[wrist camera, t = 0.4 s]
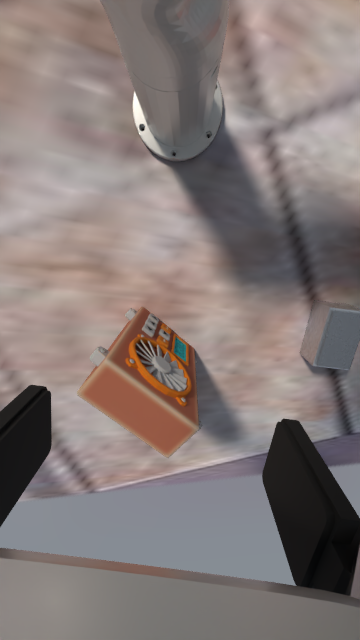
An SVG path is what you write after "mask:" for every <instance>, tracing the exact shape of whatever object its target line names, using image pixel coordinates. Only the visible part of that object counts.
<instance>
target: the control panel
mask: <svg viewBox="0 0 360 640" xmlns="http://www.w3.org/2000/svg"><path fill="white" fill-rule="evenodd" d="M125 316H126V317H127V318H128V319H129V320H130V321H129V322H128V323H127V325H126V326H125V327H124V328H123V330H122V331H121V332H120V334H119V335H118V337H117V338H116V339H115V341H114V342H113V343H112V345H111V346H110V348H109V349H108V350H106V349H105V348H103V347H98V348H97V349H96V350H95V351H94V353H93V354H92V355H91V356H90V360H91V361H92V362H93V363H94V364H95V365H96V367H95V368H94V369H93V371H92V372H91V374H90V375H89V376H88V378H87V379H86V380H85V382H84V383H83V385H82V386H81V387H80V389H79V390H78V391H77V395H78V396H79V397H81V398H82V399H84V400H85V401H87V402H88V403H89V404H91V405H92V406H94V407H95V408H97V409H98V410H99V411H101V412H102V413H104V414H105V415H107V416H108V417H109V418H111V419H112V420H114V421H115V422H117V423H118V424H119V425H121V426H122V427H124V428H125V429H127V430H128V431H129V432H131V433H132V434H134V435H135V436H136V437H138V438H139V439H141V440H142V441H144V442H145V443H146V444H148V445H149V446H151V447H152V448H154V449H155V450H156V451H158V452H159V453H161V454H162V455H164V456H165V457H166V458H169V457H170V456H171V455H172V454H173V453H174V452H175V451H176V450H177V449H179V448H180V447H181V446H182V445H183V444H184V443H185V442H186V441H187V440H188V439H189V438H191V437H192V436H193V435H194V434H195V433H196V432H197V431H198V430H199V429H200V428H201V427H202V424H201V422H200V421H199V418H198V402H197V385H196V368H195V364H196V363H197V361H196V359H195V352H194V348H193V347H191V346H190V345H189V344H188V343H187V342H185V341H184V340H183V339H182V338H180V337H179V336H178V335H177V334H176V333H174V332H173V331H172V330H171V329H170V328H169V327H168V326H167V325H165V324H164V323H162V322H161V321H160V320H159V319H158V318H157V317H156V316H154V315H153V314H152V313H150V312H149V311H147V310H146V309H145V308H144V307H141V308H140V309H139V310H138V312H137V311H135V310H134V309H132V308H130V310H129V311H128V312H127V313H126V314H125Z"/></svg>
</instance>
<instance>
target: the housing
mask: <svg viewBox="0 0 360 640" xmlns="http://www.w3.org/2000/svg"><path fill="white" fill-rule="evenodd" d="M359 340H360V308H357V307H355V306H352V305H350V304H344V303H336V302H327V301H319V300H314V302H313V306H312V309H311V313H310V316H309V320H308V324H307V327H306V331H305V335H304V338H303V342H302V345H301V349H300V354H301V355H302V356H303V357H304V358H305V359H306V360H307V361H308V362H309V363H310V364H311V365H312V366H317V367H326V368H334V369H343V370H349V369H350V366H351V363H352V360H353V357H354V354H355V351H356V349H357V346H358V343H359Z"/></svg>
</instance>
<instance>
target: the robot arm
mask: <svg viewBox="0 0 360 640" xmlns="http://www.w3.org/2000/svg"><path fill="white" fill-rule="evenodd" d="M100 2H101V3H102V5H103V7H104V9H105V12H106V14H107V16H108V18H109V21H110V23H111V26H112V29H113V31H114V34H115V36H116V39H117V42H118V45H119V48H120V51H121V54H122V56H123V59H124V62H125V65H126V68H127V71H128V73H129V76H130V79H131V82H132V85H133V87H134V94H133V103H132V106H133V117H134V122H135V125H136V128H137V131H138V133H139V135H140V137H141V139H142V140H143V142H144V143H145V145H146V146H147V147H148V148H149V149H150V150H151V151H152V152H153V153H155V154H156V155H158V156H159V157H161V158H164V159H166V160H170V161H185V160H188V159H192V158H194V157H196V156H197V155H199V154H200V153H202V152H203V151H204V150H205V149H206V148H207V147H208V146H209V145H210V144H211V142H212V141H213V139H214V137H215V136H216V134H217V131H218V128H219V126H220V122H221V118H222V110H223V99H222V93H221V88H220V85H219V82H218V80H217V78H218V73H219V67H220V62H221V56H222V51H223V45H224V40H225V35H226V29H227V23H228V15H229V0H100ZM142 128H144V129H145V130H144V131H142ZM207 135H210V138H207ZM173 153H175V154H176V155H175V156H172V154H173ZM50 449H51V392H50V391H47V388H46V387H44V386H36V385H30V386H28V387H27V388H26V389H25V390H24V391H23V392H22V393H21V394H19V395H18V396H17V397H16V398H15V399H14V400H13V401H12V402H10V403H9V404H8V405H7V406H6V407H5V408H4V409H3V410H2V411H0V526H1V525H2V524H3V522H4V521H5V519H6V518H7V516H8V515H9V513H10V511H11V510H12V508H13V507H14V505H15V504H16V502H17V501H18V499H19V498H20V496H21V495H22V493H23V492H24V490H25V489H26V487H27V486H28V484H29V483H30V481H31V480H32V478H33V477H34V475H35V474H36V472H37V471H38V469H39V468H40V466H41V465H42V463H43V462H44V460H45V459H46V457H47V456H48V454H49V452H50ZM262 477H263V484H264V487H265V490H266V493H267V496H268V500H269V503H270V505H271V509H272V512H273V515H274V519H275V522H276V525H277V528H278V531H279V534H280V538H281V541H282V544H283V547H284V550H285V554H286V557H287V560H288V563H289V566H290V570H291V572H292V576H293V579H294V581H295V584H296V585H297V586H293V585H286V584H280V583H274V582H267V581H259V580H252V579H244V578H237V577H230V576H222V575H214V574H207V573H200V572H193V571H184V570H177V569H169V568H161V567H153V566H146V565H138V564H130V563H122V562H114V561H106V560H98V559H90V558H82V557H73V556H66V555H56V554H49V553H40V552H32V551H24V550H16V549H6V548H0V640H360V518H359V516H358V515H357V513H356V512H355V510H354V508H353V507H352V505H351V504H350V502H349V500H348V499H347V497H346V496H345V494H344V493H343V491H342V489H341V488H340V486H339V485H338V483H337V481H336V480H335V478H334V477H333V475H332V473H331V472H330V470H329V469H328V467H327V465H326V464H325V462H324V461H323V459H322V457H321V456H320V454H319V453H318V451H317V449H316V448H315V446H314V445H313V443H312V441H311V440H310V438H309V437H308V435H307V433H306V432H305V430H304V429H303V427H302V425H301V424H300V422H299V421H297V420H290V419H282V421H281V422H278V423H277V425H276V428H275V432H274V435H273V439H272V442H271V445H270V449H269V452H268V456H267V459H266V463H265V466H264V470H263V475H262Z"/></svg>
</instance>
